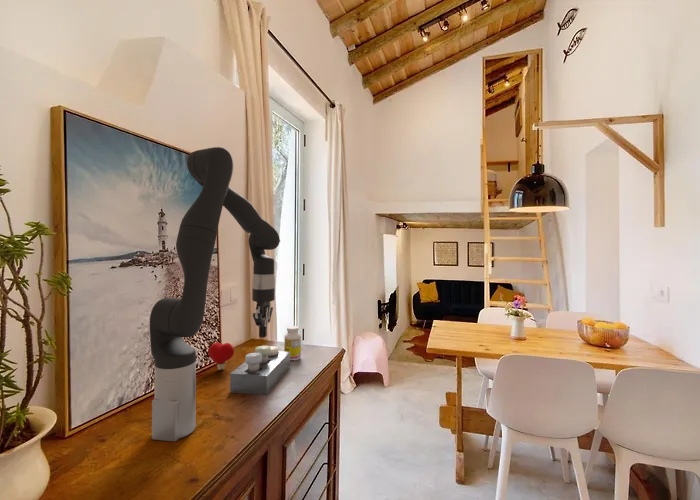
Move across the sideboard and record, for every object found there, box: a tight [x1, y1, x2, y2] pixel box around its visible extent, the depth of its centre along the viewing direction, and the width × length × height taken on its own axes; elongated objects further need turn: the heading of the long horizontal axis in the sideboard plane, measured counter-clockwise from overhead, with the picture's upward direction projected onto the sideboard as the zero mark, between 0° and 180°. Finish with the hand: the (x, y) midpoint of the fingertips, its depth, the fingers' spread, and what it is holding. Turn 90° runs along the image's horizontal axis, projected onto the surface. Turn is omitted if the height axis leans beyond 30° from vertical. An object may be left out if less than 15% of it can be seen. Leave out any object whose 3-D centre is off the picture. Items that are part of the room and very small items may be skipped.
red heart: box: [208, 342, 235, 371], centre depth 128 cm, size 9×7×10 cm
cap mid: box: [254, 345, 271, 364], centre depth 120 cm, size 5×5×5 cm
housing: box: [229, 350, 291, 396], centre depth 120 cm, size 24×12×6 cm, turn 173°
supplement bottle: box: [284, 325, 302, 361], centre depth 142 cm, size 7×7×13 cm
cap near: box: [244, 352, 262, 373], centre depth 112 cm, size 5×5×5 cm
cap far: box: [268, 345, 279, 363], centre depth 128 cm, size 5×5×5 cm
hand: (263, 336), depth 120 cm, fingers closed
